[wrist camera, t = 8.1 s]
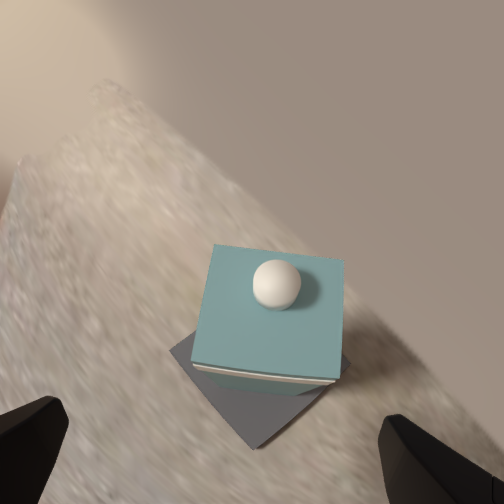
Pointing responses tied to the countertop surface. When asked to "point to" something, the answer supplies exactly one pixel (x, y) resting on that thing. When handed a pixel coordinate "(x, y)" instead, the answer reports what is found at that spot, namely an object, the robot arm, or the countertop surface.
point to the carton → (270, 321)
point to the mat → (247, 400)
